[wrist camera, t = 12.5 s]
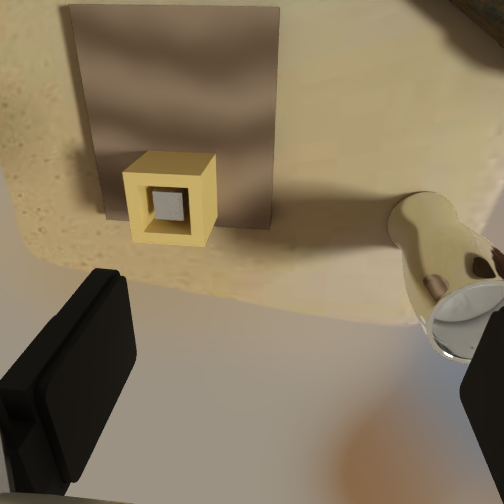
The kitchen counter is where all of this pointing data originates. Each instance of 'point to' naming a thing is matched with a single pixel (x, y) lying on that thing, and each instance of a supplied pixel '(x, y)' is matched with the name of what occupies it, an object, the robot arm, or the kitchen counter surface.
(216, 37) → the post board
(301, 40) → the kitchen counter surface
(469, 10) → the hand tool
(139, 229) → the collar
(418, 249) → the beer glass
